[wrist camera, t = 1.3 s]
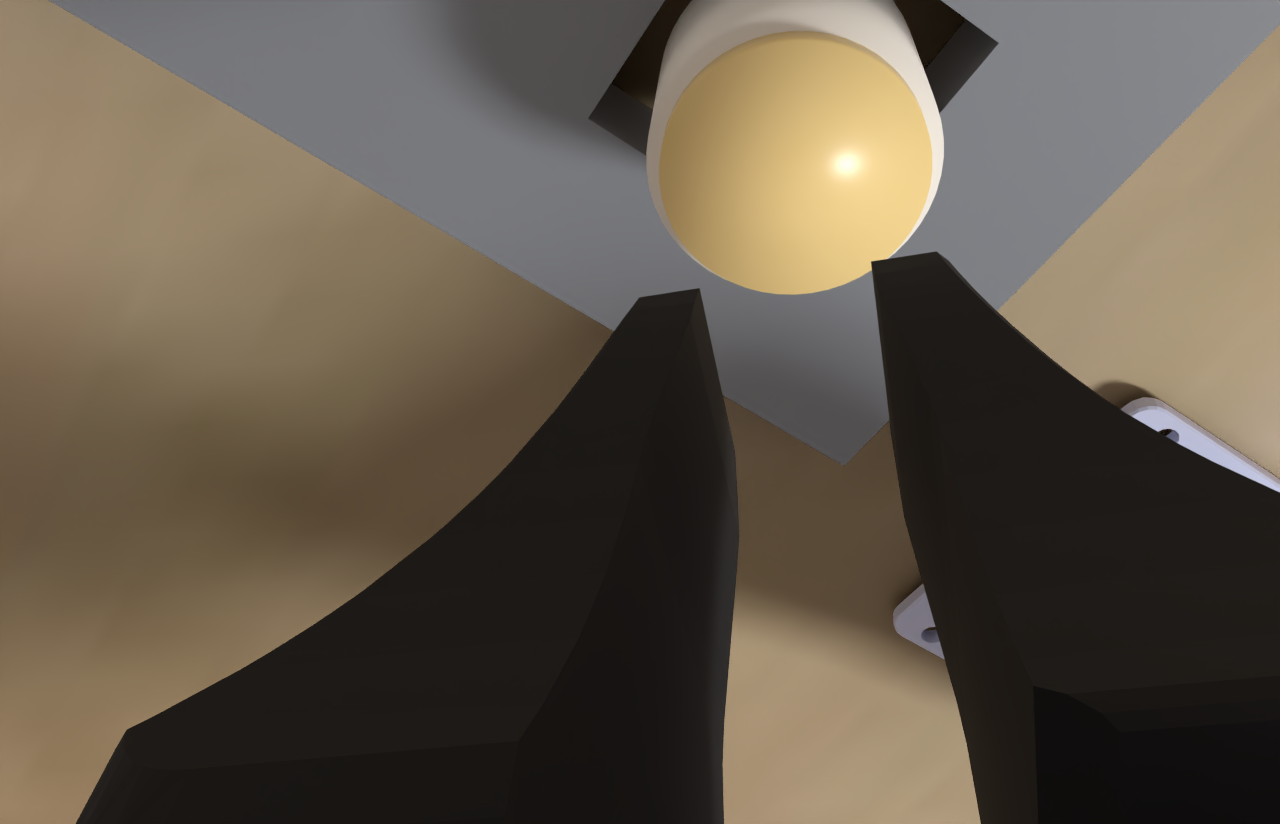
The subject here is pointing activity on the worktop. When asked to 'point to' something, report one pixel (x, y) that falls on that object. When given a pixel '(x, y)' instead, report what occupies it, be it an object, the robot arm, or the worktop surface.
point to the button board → (618, 135)
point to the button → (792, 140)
